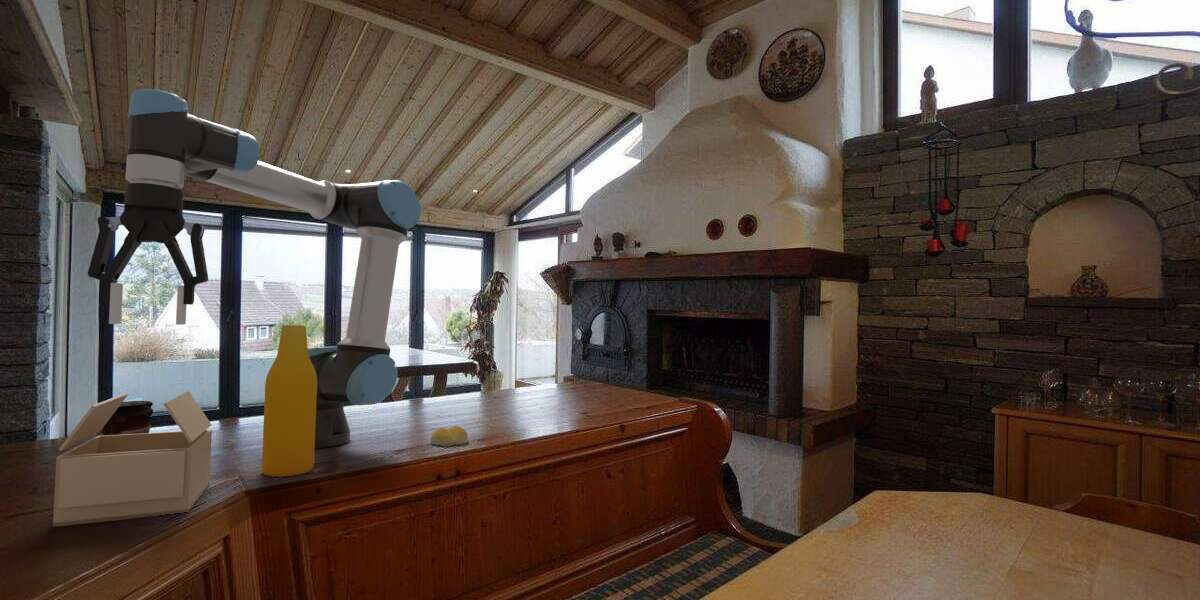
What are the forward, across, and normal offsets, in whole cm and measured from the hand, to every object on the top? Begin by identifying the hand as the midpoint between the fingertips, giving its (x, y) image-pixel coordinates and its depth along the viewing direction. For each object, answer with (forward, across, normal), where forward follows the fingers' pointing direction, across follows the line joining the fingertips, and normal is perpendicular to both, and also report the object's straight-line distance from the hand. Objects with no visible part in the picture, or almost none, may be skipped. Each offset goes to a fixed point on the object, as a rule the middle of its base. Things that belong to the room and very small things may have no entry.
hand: (148, 323), depth 91 cm
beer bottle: (+29, -20, -13) cm, 38 cm away
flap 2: (+15, -6, 0) cm, 16 cm away
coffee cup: (+29, +9, -25) cm, 40 cm away
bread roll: (+30, -54, -28) cm, 68 cm away
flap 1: (+15, +6, 0) cm, 16 cm away
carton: (+29, 0, 0) cm, 29 cm away
